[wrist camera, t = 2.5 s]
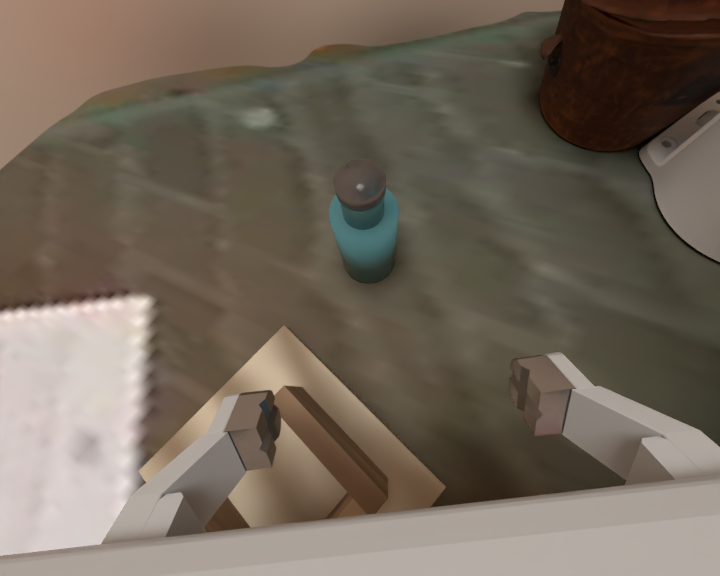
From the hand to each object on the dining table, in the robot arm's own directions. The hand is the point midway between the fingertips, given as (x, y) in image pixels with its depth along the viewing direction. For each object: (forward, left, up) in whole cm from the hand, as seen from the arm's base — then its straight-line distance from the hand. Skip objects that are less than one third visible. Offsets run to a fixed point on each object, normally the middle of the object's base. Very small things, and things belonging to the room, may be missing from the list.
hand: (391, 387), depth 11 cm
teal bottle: (-8, -9, -17) cm, 21 cm away
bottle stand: (+10, -1, -17) cm, 20 cm away
